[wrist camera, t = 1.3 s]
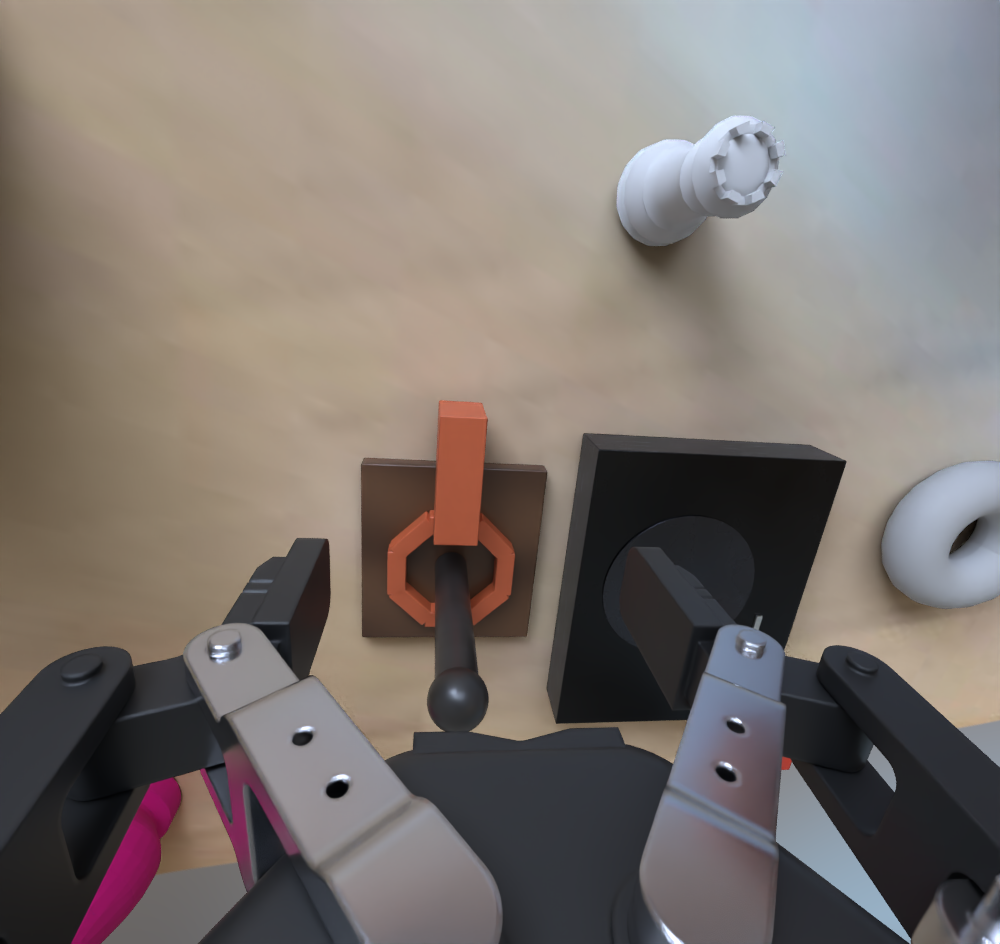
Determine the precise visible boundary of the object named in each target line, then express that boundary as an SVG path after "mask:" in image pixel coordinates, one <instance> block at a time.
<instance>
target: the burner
mask: <svg viewBox="0 0 1000 944" xmlns="http://www.w3.org/2000/svg"><path fill="white" fill-rule="evenodd" d="M632 547H659V548H661V549H662V550H663V551H664V553H665V554H666V555H667V556H668V557H669V559H670V560H671V561H672V562H673V563H674V565H679V566H680V567H682V568H683V569H685V570H687V571H688V572H690V573H691V574H693V575H694V576H695V577H696V578H697V579H698V580H699V581H700V582H701V584H702V585H703V586H704V589H707V591H708V592H709V593H710V594H711V595H712V596H713V599H715V600H716V601H717V602H718V603H719V604H720V605H721V607H722V608H723V609H724V610H725V611H726V612H727V613H728V615H729V616H730V617H731V618H732V619H733V620H734V619H735V618H736V617H737V616H738V614H739V613H740V612H741V610H742V609H743V607H744V606H745V604H746V602H747V600H748V598H749V595H750V593H751V590H752V586H753V582H754V573H755V569H754V560H753V556H752V553H751V550H750V548H749V546H748V544H747V542H746V541H745V539H744V538H743V537H742V536H741V535H740V533H739V532H737V531H736V530H735V529H734V528H732V527H731V526H729V525H728V524H726V523H724V522H722V521H719V520H717V519H714V518H710V517H705V516H682V517H676V518H672V519H668V520H664V521H662V522H659V523H657V524H655V525H653V526H651V527H649V528H647V529H645V530H644V531H642V532H641V533H639V534H638V535H636V536H635V537H634V538H633V539H632V540H630V541H629V542H628V543H627V544H626V545H625V546H624V547H623V549H622V550H621V551H620V552H619V553H618V555H617V556H616V558H615V559H614V561H613V562H612V564H611V566H610V568H609V570H608V573H607V575H606V578H605V582H604V586H603V606H604V611H605V614H606V617H607V620H608V621H609V623H610V625H611V627H612V628H613V629H614V631H615V632H616V633H617V634H618V635H619V636H620V637H621V638H622V639H624V640H625V641H627V642H628V643H630V644H632V645H634V646H636V647H637V645H636V643H635V641H634V639H633V637H632V636H631V634H630V632H629V630H628V628H627V626H626V625H625V623H624V621H623V619H622V616H621V613H620V605H619V599H620V592H621V587H622V582H623V576H624V571H625V566H626V561H627V556H628V552H629V550H630V549H631V548H632Z"/></svg>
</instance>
